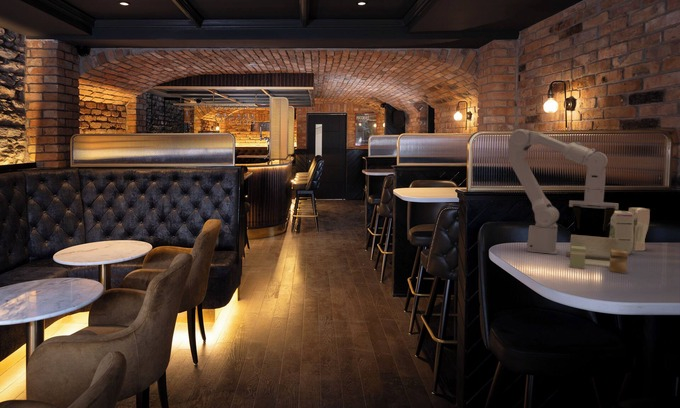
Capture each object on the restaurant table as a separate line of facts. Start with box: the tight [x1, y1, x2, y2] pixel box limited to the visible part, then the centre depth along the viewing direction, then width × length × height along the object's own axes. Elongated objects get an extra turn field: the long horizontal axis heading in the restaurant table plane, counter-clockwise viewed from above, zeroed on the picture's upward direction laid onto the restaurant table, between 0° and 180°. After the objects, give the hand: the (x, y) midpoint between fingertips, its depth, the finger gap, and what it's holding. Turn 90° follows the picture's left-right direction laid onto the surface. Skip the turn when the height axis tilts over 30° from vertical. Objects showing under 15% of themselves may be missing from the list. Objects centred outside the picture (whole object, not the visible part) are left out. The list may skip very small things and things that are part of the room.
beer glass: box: [628, 207, 651, 252], centre depth 182 cm, size 7×7×15 cm
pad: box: [585, 259, 610, 268], centre depth 159 cm, size 10×7×1 cm
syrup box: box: [608, 210, 633, 255], centre depth 177 cm, size 6×6×14 cm
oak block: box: [608, 250, 629, 274], centre depth 150 cm, size 4×4×6 cm
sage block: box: [569, 246, 586, 270], centre depth 155 cm, size 4×4×6 cm
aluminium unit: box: [565, 234, 619, 261], centre depth 167 cm, size 16×5×7 cm, turn 66°
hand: (591, 229), depth 167 cm, fingers open, 7 cm apart
